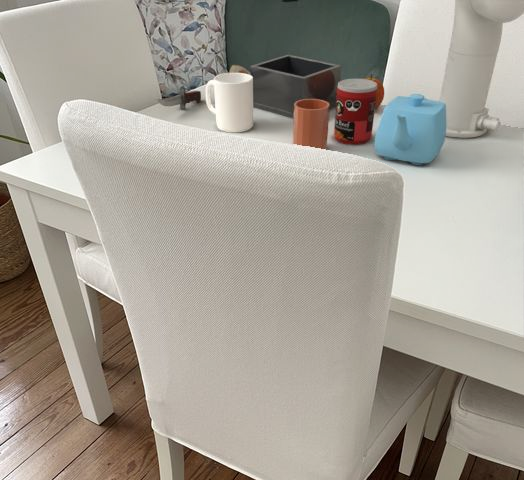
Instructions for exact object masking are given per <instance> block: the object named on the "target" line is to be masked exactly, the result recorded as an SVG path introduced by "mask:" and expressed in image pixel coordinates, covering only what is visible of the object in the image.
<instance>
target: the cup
mask: <svg viewBox="0 0 524 480" xmlns="http://www.w3.org/2000/svg"><path fill="white" fill-rule="evenodd" d="M212 87H213V89H214V91H213V92H214V105H213V103H212V99H211V89H212ZM205 102H206V106H207V108H208V110H209V111H210V112H211V114H213V115H215V120H216V121H215V122H216V123H215V124H216V127H217V128H218V129H219V130H220V131H222V132H225V133H244V132H247V131H249V130H251V129H252V128H253V126H254V119H255V118H254V107H253V77H252V76H251V75H249V74H245V73H229V72H224V73H220V74H217V75H215V76H214V77H213V79H211V80H209V81H207V83H206V85H205ZM214 106H215V107H214Z"/></svg>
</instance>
